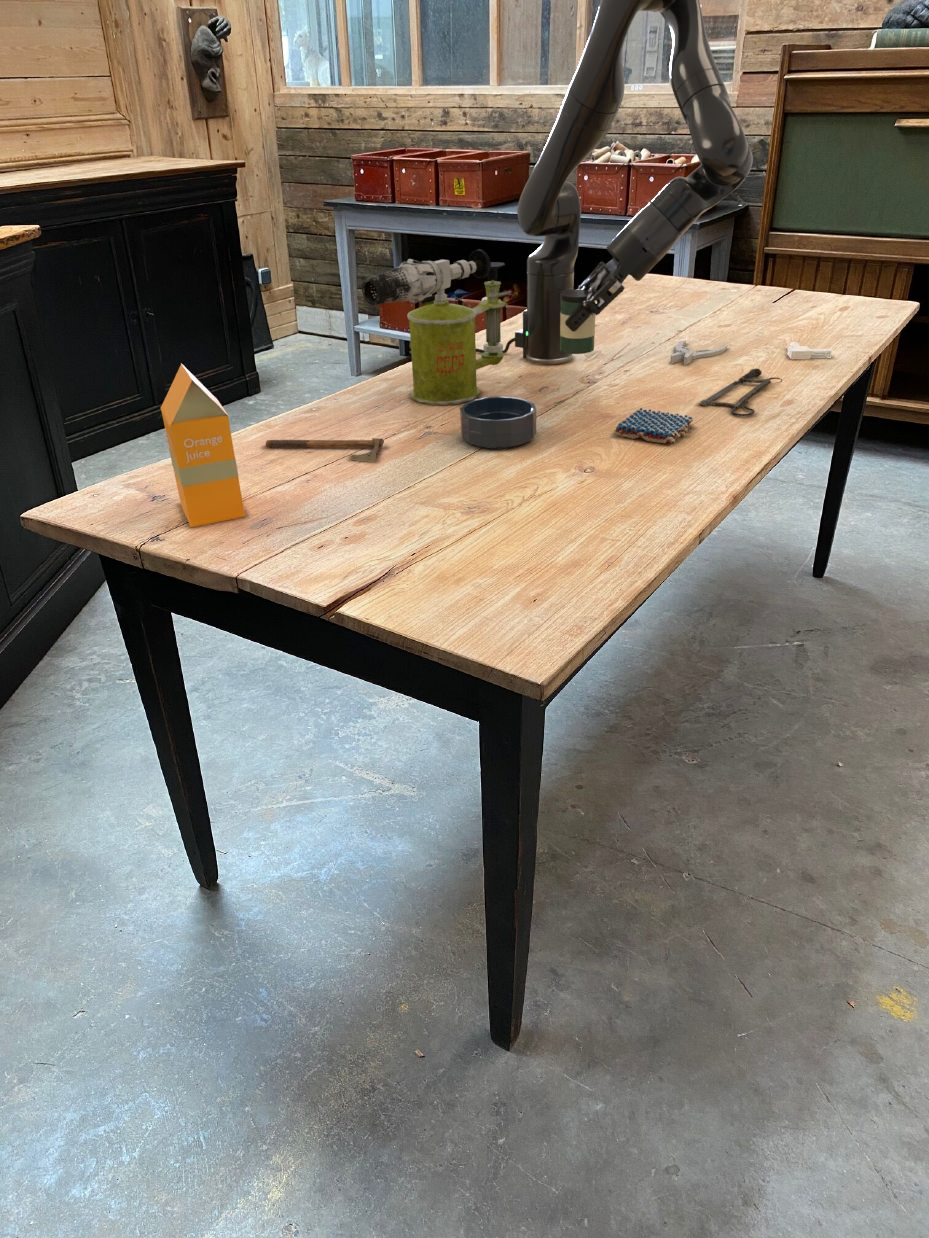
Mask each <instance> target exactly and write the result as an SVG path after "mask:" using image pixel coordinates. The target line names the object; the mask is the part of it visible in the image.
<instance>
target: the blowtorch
mask: <svg viewBox="0 0 929 1238" xmlns="http://www.w3.org/2000/svg"><path fill="white" fill-rule="evenodd" d="M505 266H506V264H505V262H500V261H496V262H495V261H491V258H490V256H489V255H488V253H487V252H486V251H485V250H484V249H480V248H479V249H475V250H473V251H471V253H470V254H469V255H468V261H467V260H465V259H461V260H457V261H455V262H453V264H452V263H451V264H450V260H449V259H439V260H435V261H433V260H422V261H419V260H415V259H412V258H408V259H407V261H405V260H404V261H402V262H401V263H400V265H398V266H397V267H394V268H391V269H390V270H389V269H388V270H387V271H384V272H381V273H378V274H375V275H372V276H369V277H367V278H365V279H363V281H362V284H361V292H362V296H363V299H364V300H365V302H366V303H367V304H368V305H370V306H376V305H383V304H390V303H399V302H410V303H413V304H417V303H418V302H420V303H421V305H422V306H421V307H418V308H415V309H413V310H411V311H408V313H407V315H406V316H407V320H408V322H409V323H408V324H409V338H410V353H411V371H412V385H413V389H412V391H411V392H410V397H411V398H412V400H414V401H415V402H418V403H420V404H424V405H425V404H426V405H430V406H446V405H447V406H448V405H460V404H464V403H467V402H470V401H472V400H476V399H477V398H478V397H479V396H480V392H481V391H480V389H479V387H478V385H477V383H478V382H477V370H480V369H482V368H484V367H487V366H497V365H499V364H500V363H501V362H502V361H503V359H504V356H505V355H506V353H503V352H501V351H503V350H504V344H503V343H501V340H502V339H501V333H502V331H501V308H504V307H507V306H508V303H507V302H506V301H502V300H499V297H500V288H501V285H502V282H501V281H497V280H498V270H499V269H500V268H503V267H505ZM470 275H472V276H473V277H475V278H476V279H484V278H486V279H487V280H488V281H484V283H483V285H484V288H485V297H486V298H487V299H486V300H485V301H480V302H478V305H477V306H474V307H473V308H471V307H468V306H465V305H461V304H456V303H450V302H449V301H450V300H449V299H448V294H446V293H445V290H446V289H448V288H450V287H451V284H452V283H451V282H452V280H455V279H457V280H461V279H465V278H469V276H470ZM435 293H436V294H435ZM434 294H435V295H434ZM484 312H485V341H486V343H485V344H483V350H484V351H485V352H484V353H481V355H480V356H481V357H479V358H477V352H476V349H477V347H476V345H477V344H476V318H477V316H479V315H480V314H482V313H484Z"/></svg>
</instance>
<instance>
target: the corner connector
mask: <svg viewBox="0 0 929 1238" xmlns="http://www.w3.org/2000/svg"><path fill="white" fill-rule="evenodd" d="M788 344H789V345H788V346H787V348H786V350H787V352H786V353H787V356H788V357H789V359H790V360H811V359H832V349H831V348H809V346H807V345H800V343H798V342H797V341H790V342H789V343H788Z"/></svg>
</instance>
